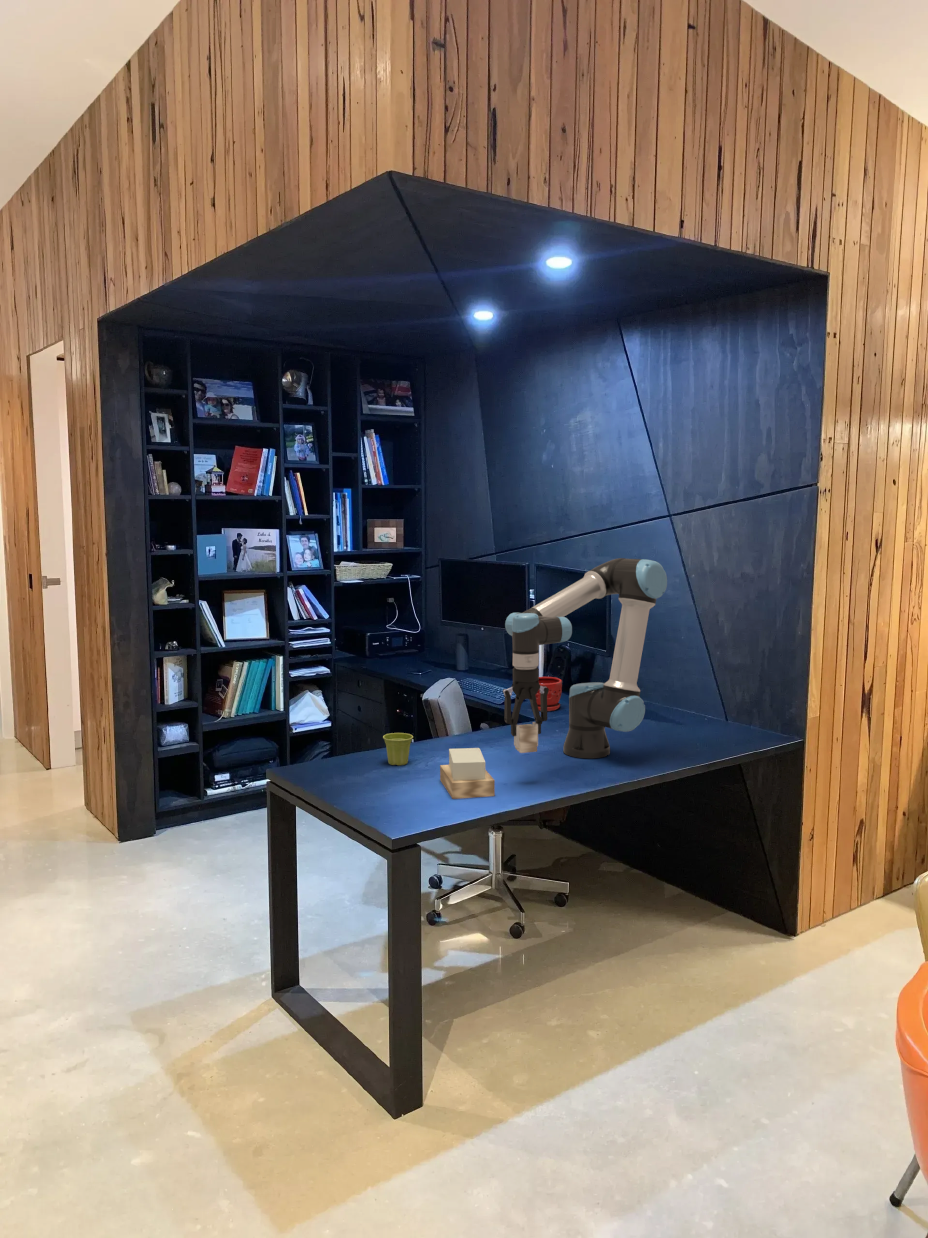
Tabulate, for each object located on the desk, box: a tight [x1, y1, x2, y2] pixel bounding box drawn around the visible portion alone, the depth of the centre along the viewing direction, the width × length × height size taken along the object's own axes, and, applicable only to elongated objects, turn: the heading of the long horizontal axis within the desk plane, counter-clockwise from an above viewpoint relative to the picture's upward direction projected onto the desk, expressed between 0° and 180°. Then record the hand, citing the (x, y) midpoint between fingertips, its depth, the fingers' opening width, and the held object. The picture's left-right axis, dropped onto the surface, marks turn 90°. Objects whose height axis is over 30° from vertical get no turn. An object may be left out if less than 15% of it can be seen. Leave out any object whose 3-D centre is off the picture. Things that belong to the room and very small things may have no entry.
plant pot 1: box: [382, 732, 414, 766], centre depth 287 cm, size 9×9×9 cm
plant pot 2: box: [535, 676, 563, 712], centre depth 364 cm, size 13×13×12 cm
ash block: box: [514, 723, 538, 754], centre depth 266 cm, size 5×5×7 cm
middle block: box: [448, 747, 486, 780], centre depth 262 cm, size 9×15×5 cm, turn 5°
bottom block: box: [439, 764, 496, 800], centre depth 262 cm, size 12×18×5 cm, turn 12°
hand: (526, 745), depth 266 cm, fingers closed on ash block, 5 cm apart
